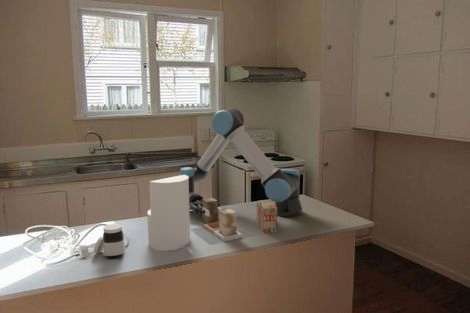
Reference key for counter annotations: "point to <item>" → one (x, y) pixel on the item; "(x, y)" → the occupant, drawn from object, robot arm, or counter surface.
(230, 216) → the oak pillar
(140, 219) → the counter surface
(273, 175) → the robot arm
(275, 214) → the stack of blocks
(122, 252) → the spread jar
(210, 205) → the walnut pillar
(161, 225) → the cylinder
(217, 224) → the board
